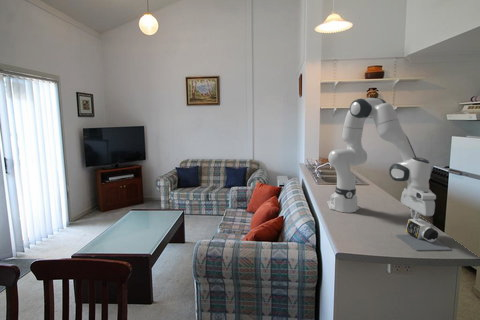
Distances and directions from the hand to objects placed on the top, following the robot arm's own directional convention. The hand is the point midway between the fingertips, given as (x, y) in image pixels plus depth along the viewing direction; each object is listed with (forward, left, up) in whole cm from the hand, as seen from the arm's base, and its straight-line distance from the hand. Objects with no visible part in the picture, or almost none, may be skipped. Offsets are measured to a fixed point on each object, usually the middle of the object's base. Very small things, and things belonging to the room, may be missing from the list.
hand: (414, 218), depth 139 cm
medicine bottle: (-3, +1, -4) cm, 5 cm away
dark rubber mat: (+7, 0, -9) cm, 12 cm away
